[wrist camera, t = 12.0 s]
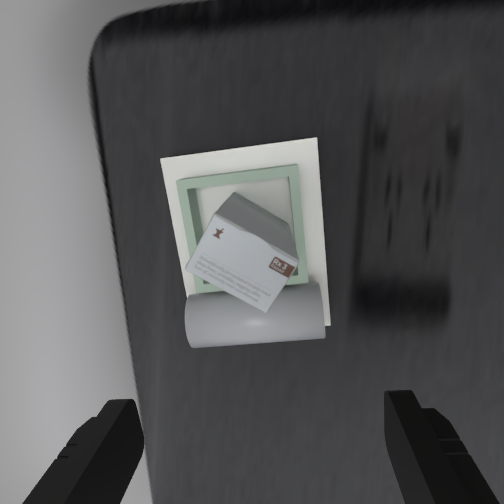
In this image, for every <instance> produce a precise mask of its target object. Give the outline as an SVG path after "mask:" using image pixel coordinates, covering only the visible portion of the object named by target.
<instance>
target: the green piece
mask: <svg viewBox="0 0 504 504" xmlns="http://www.w3.org/2000/svg"><path fill="white" fill-rule="evenodd" d="M280 177H288V179H289V189H290V199H291V210H292V220H293V230H294V241H295V248H296V251H297V255H298V258H299V261H300V262H299V265H298V266H297V268H296V269H295V271H294V272H293V274H292V275H291V277H290V278H289V280H288V281H287V283H286V284H285V285H292V284H303V283H308V272H307V261H306V249H305V238H304V227H303V216H302V204H301V193H300V182H299V170H298V165H297V164H289V165H281V166H274V167H266V168H258V169H250V170H242V171H235V172H227V173H219V174H211V175H203V176H196V177H188V178H183V179H179V180H176V186H177V191H178V197H179V202H180V207H181V213H182V218H183V224H184V229H185V234H186V240H187V245H188V251H189V256H190V257H191V256H192V254H193V252H194V251H195V249H196V247H197V245H198V243H199V241H200V239H201V237H202V235H203V229H202V223H201V218H200V212H199V206H198V200H197V194H196V188H200V187H208V186H216V185H224V184H232V183H240V182H248V181H256V180H264V179H272V178H280ZM193 278H194V283H195V288H196V293H203V292H214V291H224V290H222V289H220V288H218V287H216V286H214V285H212V284H210V283H209V282H207V281H205V280H203V279H201V278H199V277H197V276H195V275H193Z"/></svg>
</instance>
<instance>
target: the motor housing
mask: <svg viewBox="0 0 504 504" xmlns="http://www.w3.org/2000/svg"><path fill="white" fill-rule="evenodd" d="M160 160H161V165H162V171H163V176H164V181H165V186H166V191H167V196H168V202H169V207H170V212H171V217H172V222H173V227H174V233H175V238H176V243H177V248H178V253H179V258H180V263H181V269H182V274H183V279H184V284H185V289H186V294H187V301H186V306H185V329H186V335H187V339H188V342H189V344H190V346H191V347H192V348H200V347H214V346H228V345H241V344H255V343H269V342H282V341H296V340H310V339H323V338H325V326H331V324H330V310H329V296H328V283H327V269H326V255H325V241H324V228H323V214H322V200H321V186H320V173H319V159H318V145H317V137H316V138H309V139H301V140H294V141H287V142H279V143H272V144H265V145H257V146H250V147H242V148H235V149H228V150H220V151H213V152H206V153H198V154H191V155H183V156H176V157H169V158H161V159H160ZM289 164H297V165H298V170H299V182H300V193H301V204H302V216H303V227H304V238H305V249H306V261H307V272H308V283H303V284H292V285H285V286H284V287H283V289H282V290H281V292H280V294H279V295H278V297H277V298H276V300H275V301H274V303H273V305H272V306H271V308H270V309H269V311H268V312H267V313H264V312H263V311H261V310H259V309H257V308H256V307H254V306H252V305H250V304H248V303H246V302H244V301H243V300H241V299H239V298H237V297H235V296H233V295H231V294H229V293H227V292H226V291H214V292H203V293H196V288H195V283H194V278H193V274H192V273H190V272H188V271H186V270H185V266H186V264H187V262H188V261H189V259H190V256H189V251H188V245H187V240H186V234H185V229H184V224H183V218H182V213H181V207H180V202H179V197H178V191H177V186H176V180H179V179H183V178H188V177H196V176H203V175H211V174H219V173H227V172H235V171H242V170H250V169H258V168H266V167H274V166H281V165H289ZM233 192H236V193H238V194H240V195H241V196H243V197H245V198H246V199H248V200H250V201H251V202H253V203H255V204H257V205H258V206H260V207H262V208H263V209H265V210H267V211H269V212H270V213H272V214H274V215H275V216H277V217H279V218H280V219H282V220H284V221H286V222H287V223H288V224H289V228H290V231H291V234H292V238H293V241H294V230H293V220H292V210H291V199H290V189H289V179H288V177H280V178H272V179H264V180H256V181H248V182H240V183H232V184H224V185H216V186H208V187H200V188H196V194H197V200H198V206H199V212H200V218H201V223H202V229H203V233H204V231H205V230H206V228H207V226H208V224H209V222H210V220H211V218H212V216H213V214H214V212H216V211H217V210H218V209H219V207H220V206H221V205H222V204H223V203H224V202H225V201H226V200H227V198H228V197H229V196H230V195H231V194H232V193H233ZM294 245H295V241H294Z"/></svg>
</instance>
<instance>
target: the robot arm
mask: <svg viewBox="0 0 504 504" xmlns="http://www.w3.org/2000/svg"><path fill="white" fill-rule="evenodd" d="M384 429H385V441H386V446H387V451H388V454H389V457H390V460H391V463H392V466H393V469H394V472H395V475H396V478H397V481H398V484H399V487H400V490H401V493H402V496H403V499H404V501H405V504H500V503H499V502H498V500H497V499H496V497H495V495H494V494H493V492H492V490H491V489H490V487H489V485H488V484H487V482H486V480H485V479H484V477H483V475H482V474H481V472H480V470H479V469H478V467H477V466H476V464H475V462H474V461H473V459H472V457H471V456H470V455H469V454H468V451H467V449H466V447H465V446H464V444H463V442H462V441H460V437H459V436H458V434H457V433H456V431H455V429H454V428H453V426H452V424H451V423H450V421H449V420H447V419H446V418H445V417H444V416H443V415H442V414H440V413H439V412H438V411H437V410H436V409H434V408H421V406H420V404H419V402H418V400H417V399H416V397H415V395H414V393H413V392H412V391H411V390H398V391H385V393H384ZM143 449H144V435H143V431H142V427H141V423H140V419H139V414H138V410H137V407H136V403H135V401H134V400H133V399H119V400H118V399H116V400H109V401H108V402H107V403H106V404H105V405H104V407H103V408H102V410H101V411H100V412H99V414H98V415H97V417H92V418H90V419H89V420H88V421H87V422H85V423H84V424H83V425H82V426H81V427H79V428H78V429H77V430H76V432H75V433H74V434H73V436H72V437H71V438H70V440H69V441H68V443H67V444H66V447H64V448H63V449H62V451H61V452H60V453H59V455H58V457H57V459H55V460H54V461H53V463H52V464H51V466H50V467H49V468H48V470H47V471H46V472H45V474H44V475H43V476H42V478H41V479H40V480H39V482H38V484H37V485H36V486H35V487H34V489H33V490H32V491H31V493H30V494H29V495H28V497H27V498H26V499H25V501H24V502H23V504H120V502H121V500H122V498H123V496H124V494H125V492H126V489H127V487H128V485H129V483H130V481H131V479H132V476H133V474H134V472H135V470H136V468H137V466H138V463H139V461H140V459H141V457H142V454H143Z"/></svg>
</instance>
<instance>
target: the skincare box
mask: <svg viewBox="0 0 504 504" xmlns="http://www.w3.org/2000/svg"><path fill="white" fill-rule="evenodd" d="M299 262H300V261H299V258H298V255H297V251H296V248H295V245H294V241H293V238H292V234H291V231H290V228H289V224H288V223H287V222H286V221H284V220H282V219H280V218H279V217H277V216H275V215H274V214H272V213H270V212H269V211H267V210H265V209H263V208H262V207H260V206H258V205H257V204H255V203H253V202H251V201H250V200H248V199H246V198H245V197H243V196H241V195H240V194H238V193H236V192H233V193H232V194H231V195H230V196H229V197H228V198H227V200H226V201H225V202H224V203H223V204H222V205H221V206H220V207H219V209H218V210H217V211H216V212H214V214H213V216H212V218H211V220H210V222H209V224H208V226H207V228H206V230H205V231H204V233H203V235H202V237H201V239H200V241H199V243H198V245H197V247H196V249H195V251H194V252H193V254H192V256H191V257H190V259H189V261H188V262H187V264H186V266H185V270H186V271H188V272H190V273H192V274H193V275H195V276H197V277H199V278H201V279H203V280H205V281H207V282H209V283H210V284H212V285H214V286H216V287H218V288H220V289H222V290H224V291H226V292H227V293H229V294H231V295H233V296H235V297H237V298H239V299H241V300H243V301H244V302H246V303H248V304H250V305H252V306H254V307H256V308H257V309H259V310H261V311H263V312H264V313H267V312H268V311H269V309H270V308H271V306H272V305H273V303H274V301H275V300H276V298H277V297H278V295H279V294H280V292H281V290H282V289H283V287H284V286H285V284H286V283H287V281H288V280H289V278H290V277H291V275H292V274H293V272H294V271H295V269H296V268H297V266H298V265H299Z"/></svg>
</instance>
